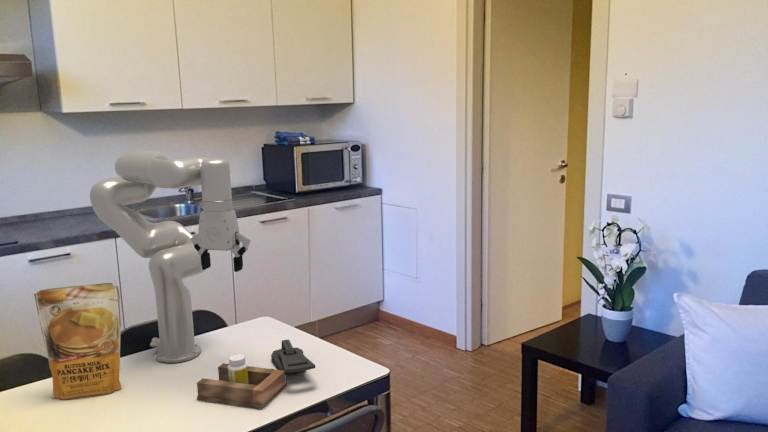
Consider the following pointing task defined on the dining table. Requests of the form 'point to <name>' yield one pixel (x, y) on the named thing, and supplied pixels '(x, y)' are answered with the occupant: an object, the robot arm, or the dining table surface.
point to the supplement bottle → (238, 369)
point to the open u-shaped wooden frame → (243, 388)
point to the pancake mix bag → (82, 338)
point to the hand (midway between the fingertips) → (222, 269)
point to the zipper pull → (291, 360)
